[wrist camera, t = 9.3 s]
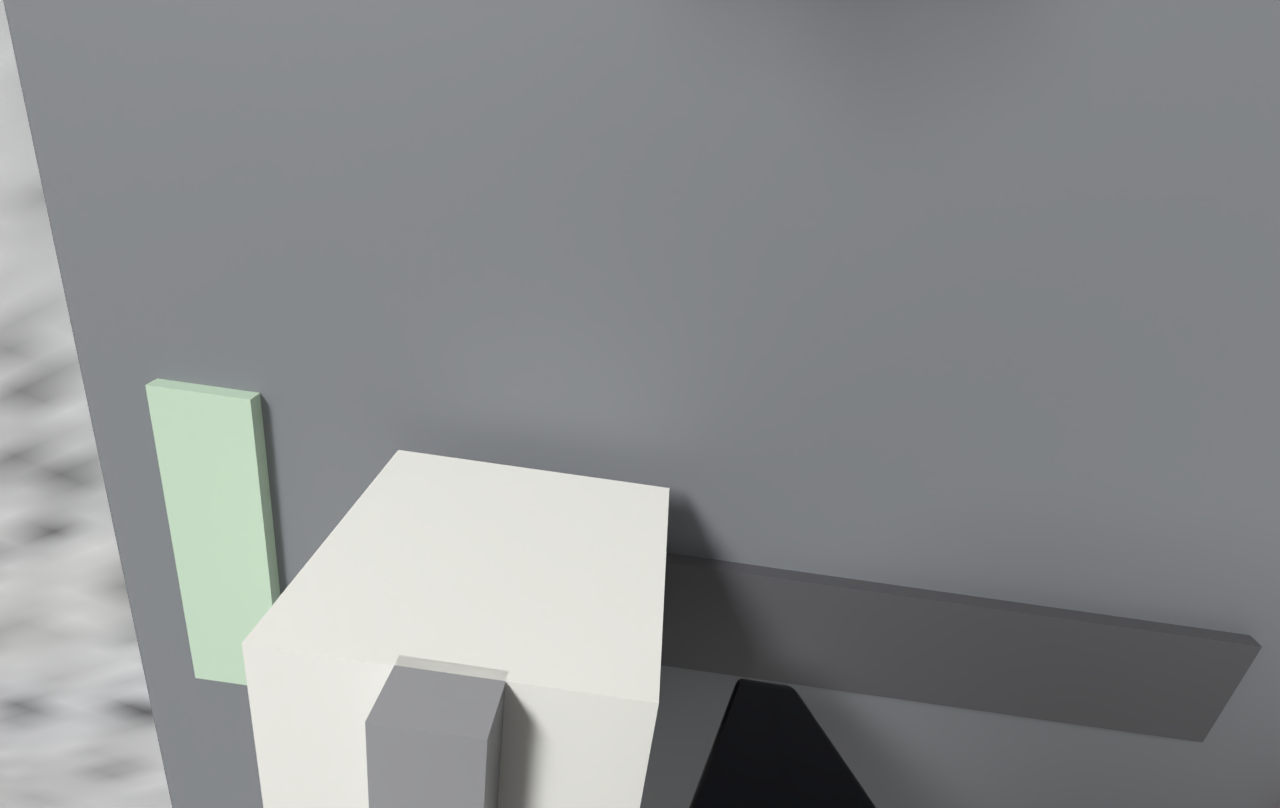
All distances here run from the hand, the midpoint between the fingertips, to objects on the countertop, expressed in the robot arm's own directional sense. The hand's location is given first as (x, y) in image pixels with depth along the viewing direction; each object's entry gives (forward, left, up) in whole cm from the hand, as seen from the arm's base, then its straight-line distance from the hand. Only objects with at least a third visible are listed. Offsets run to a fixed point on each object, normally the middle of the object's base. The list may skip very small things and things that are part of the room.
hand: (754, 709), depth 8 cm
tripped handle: (+3, 0, -1) cm, 3 cm away
